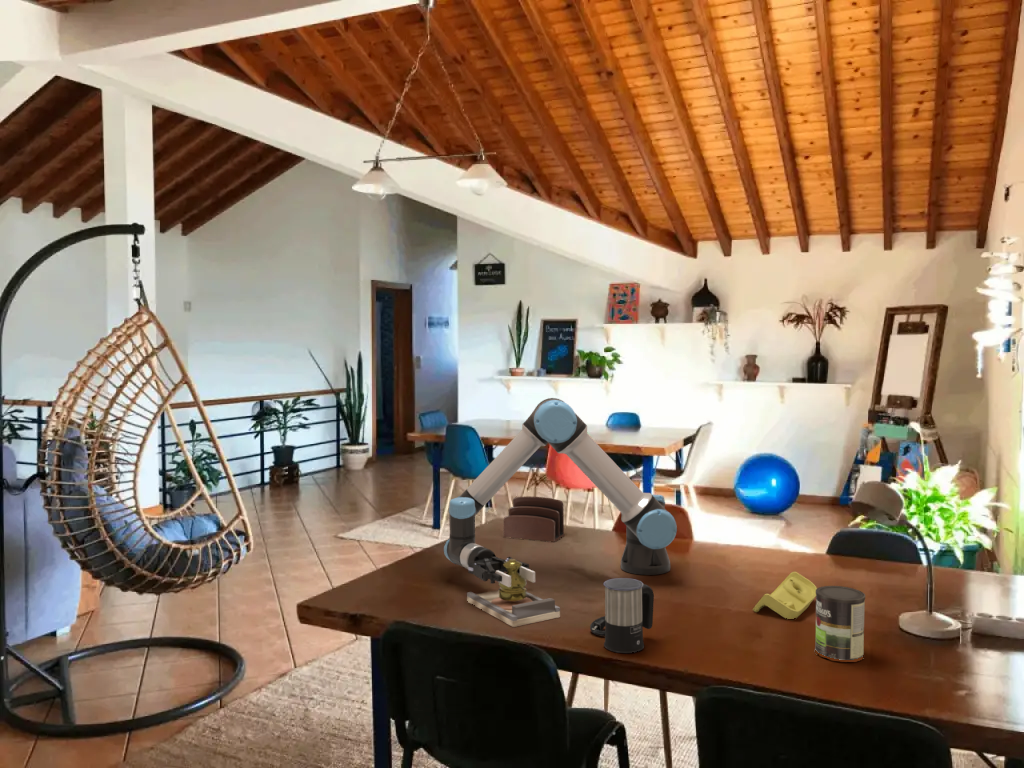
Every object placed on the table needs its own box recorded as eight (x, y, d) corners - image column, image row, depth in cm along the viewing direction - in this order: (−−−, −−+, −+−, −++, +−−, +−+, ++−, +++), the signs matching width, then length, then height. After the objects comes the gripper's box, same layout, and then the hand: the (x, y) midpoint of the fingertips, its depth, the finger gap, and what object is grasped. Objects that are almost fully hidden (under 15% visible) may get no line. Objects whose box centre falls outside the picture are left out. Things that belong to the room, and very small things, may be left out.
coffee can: (827, 664, 179) (828, 600, 178) (807, 647, 189) (807, 586, 188) (873, 662, 179) (874, 598, 179) (850, 645, 190) (851, 584, 189)
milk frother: (633, 657, 183) (633, 591, 183) (571, 643, 192) (571, 580, 191) (658, 637, 195) (658, 576, 195) (599, 625, 204) (598, 566, 203)
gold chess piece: (494, 599, 215) (493, 562, 215) (505, 591, 222) (504, 555, 221) (520, 602, 212) (520, 564, 212) (530, 594, 219) (530, 557, 219)
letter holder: (513, 532, 306) (513, 494, 306) (564, 536, 299) (564, 498, 298) (503, 538, 297) (502, 499, 297) (555, 543, 289) (554, 503, 289)
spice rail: (467, 601, 224) (466, 585, 224) (511, 593, 231) (511, 577, 231) (513, 627, 203) (513, 609, 203) (560, 617, 211) (559, 599, 210)
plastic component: (796, 613, 205) (761, 590, 210) (784, 636, 208) (749, 612, 213) (823, 589, 220) (789, 567, 226) (811, 610, 223) (778, 588, 228)
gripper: (508, 567, 237) (553, 587, 218) (447, 578, 227) (489, 600, 208) (508, 541, 237) (553, 559, 217) (447, 551, 227) (488, 570, 207)
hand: (522, 579), depth 212 cm, fingers closed on gold chess piece, 7 cm apart
